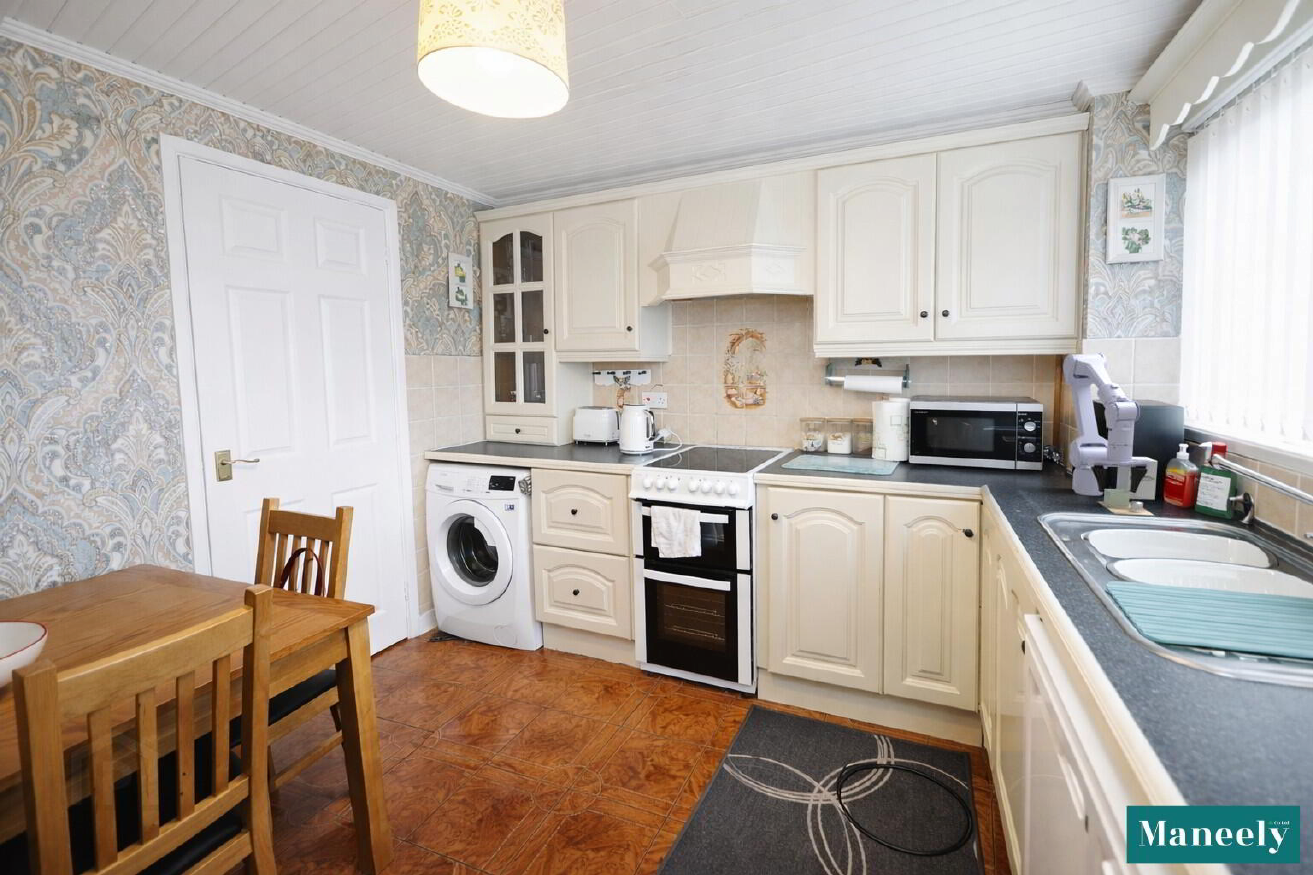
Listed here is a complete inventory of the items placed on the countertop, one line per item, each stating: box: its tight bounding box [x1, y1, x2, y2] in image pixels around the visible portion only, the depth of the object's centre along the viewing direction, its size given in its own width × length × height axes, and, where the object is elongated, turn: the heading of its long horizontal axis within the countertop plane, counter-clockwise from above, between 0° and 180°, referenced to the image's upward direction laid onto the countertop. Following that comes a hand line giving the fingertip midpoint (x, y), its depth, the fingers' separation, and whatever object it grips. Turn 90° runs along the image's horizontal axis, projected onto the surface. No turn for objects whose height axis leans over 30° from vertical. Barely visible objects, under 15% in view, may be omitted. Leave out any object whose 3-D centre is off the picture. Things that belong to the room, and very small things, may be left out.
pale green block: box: [1103, 488, 1130, 507], centre depth 180 cm, size 5×5×4 cm
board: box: [1097, 501, 1156, 517], centre depth 176 cm, size 14×9×1 cm, turn 162°
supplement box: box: [1116, 456, 1158, 500], centre depth 188 cm, size 7×7×13 cm
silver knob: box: [1130, 500, 1144, 513], centre depth 172 cm, size 3×3×4 cm
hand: (1117, 492), depth 179 cm, fingers open, 7 cm apart
